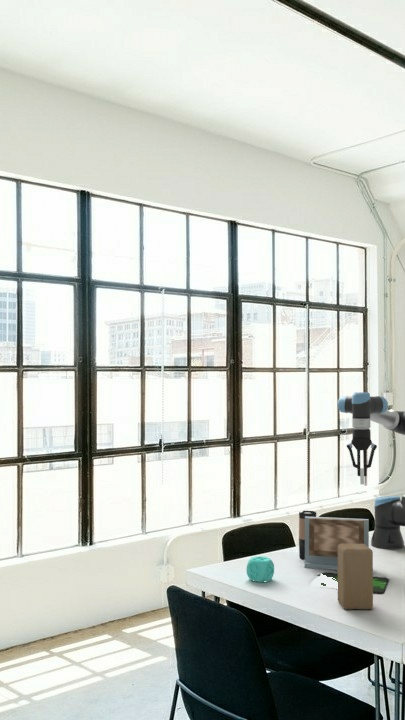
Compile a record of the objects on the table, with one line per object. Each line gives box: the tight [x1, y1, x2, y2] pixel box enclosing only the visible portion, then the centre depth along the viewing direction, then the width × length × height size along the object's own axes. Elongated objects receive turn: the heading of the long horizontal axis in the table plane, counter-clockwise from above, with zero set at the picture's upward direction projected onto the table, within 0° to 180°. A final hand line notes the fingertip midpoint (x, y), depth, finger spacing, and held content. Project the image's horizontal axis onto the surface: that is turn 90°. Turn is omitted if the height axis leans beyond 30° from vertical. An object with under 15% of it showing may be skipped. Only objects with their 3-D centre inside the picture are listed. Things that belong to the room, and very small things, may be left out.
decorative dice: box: [246, 556, 275, 583], centre depth 262 cm, size 8×8×8 cm
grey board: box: [303, 516, 370, 570], centre depth 283 cm, size 26×8×20 cm, turn 79°
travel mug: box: [298, 510, 317, 561], centre depth 297 cm, size 8×8×20 cm
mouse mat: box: [321, 571, 390, 595], centre depth 259 cm, size 27×22×1 cm
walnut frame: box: [309, 518, 364, 557], centre depth 278 cm, size 22×2×15 cm, turn 79°
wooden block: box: [337, 544, 374, 610], centre depth 231 cm, size 10×10×20 cm
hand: (362, 483), depth 289 cm, fingers closed
